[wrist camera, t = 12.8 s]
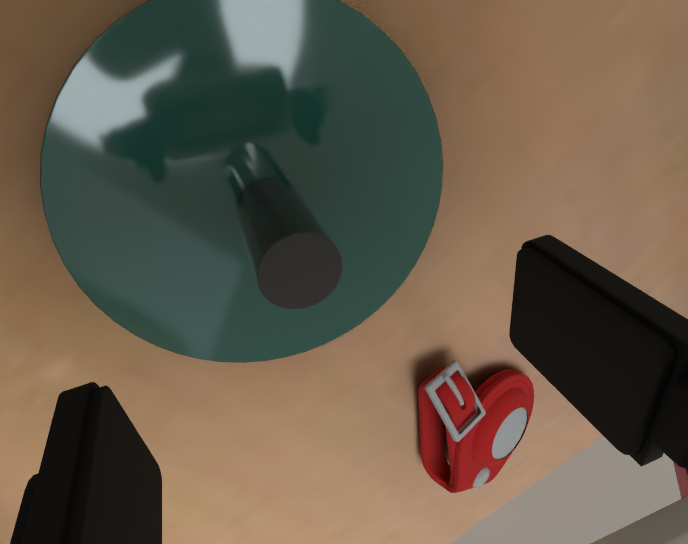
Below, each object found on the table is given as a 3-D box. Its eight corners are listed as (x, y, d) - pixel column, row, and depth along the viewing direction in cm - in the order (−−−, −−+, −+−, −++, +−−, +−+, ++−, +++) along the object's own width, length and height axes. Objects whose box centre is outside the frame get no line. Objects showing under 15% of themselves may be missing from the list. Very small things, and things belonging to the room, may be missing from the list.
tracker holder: (564, 374, 32) (515, 498, 33) (509, 347, 35) (467, 461, 36) (464, 379, 24) (406, 541, 25) (406, 344, 27) (357, 489, 29)
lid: (-58, 24, 14) (-206, 36, 8) (423, -54, 17) (544, -83, 11) (145, 390, 22) (138, 511, 17) (436, 293, 26) (508, 370, 20)
